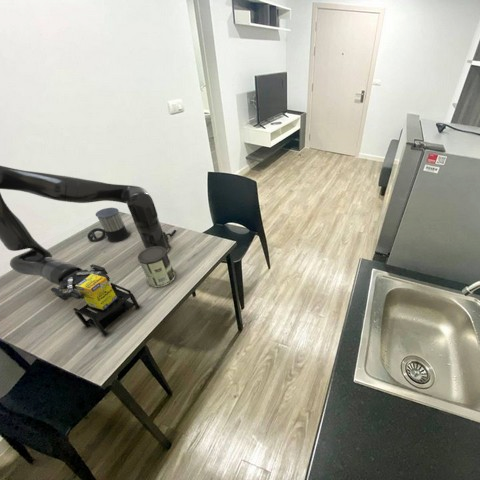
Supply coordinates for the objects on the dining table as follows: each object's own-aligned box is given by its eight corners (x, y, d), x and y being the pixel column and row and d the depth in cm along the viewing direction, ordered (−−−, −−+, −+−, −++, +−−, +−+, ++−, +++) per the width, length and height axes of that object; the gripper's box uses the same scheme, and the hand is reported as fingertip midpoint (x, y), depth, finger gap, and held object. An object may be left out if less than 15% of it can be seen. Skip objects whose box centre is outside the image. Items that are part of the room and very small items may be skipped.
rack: (121, 299, 104) (111, 282, 98) (140, 307, 101) (131, 290, 95) (85, 326, 93) (71, 309, 87) (105, 336, 91) (92, 319, 85)
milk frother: (132, 237, 135) (121, 212, 126) (95, 250, 125) (81, 224, 116) (122, 225, 142) (111, 201, 133) (87, 237, 132) (72, 212, 124)
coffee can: (164, 267, 120) (155, 243, 111) (180, 275, 116) (171, 251, 108) (143, 281, 112) (131, 256, 104) (159, 290, 109) (148, 265, 100)
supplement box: (104, 311, 90) (89, 289, 83) (89, 307, 90) (74, 285, 84) (118, 298, 94) (106, 276, 88) (104, 294, 95) (91, 273, 89)
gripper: (32, 279, 84) (67, 295, 80) (79, 253, 95) (111, 266, 91) (45, 294, 89) (78, 310, 85) (88, 268, 99) (120, 281, 96)
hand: (95, 287), depth 88 cm, fingers open, 8 cm apart
